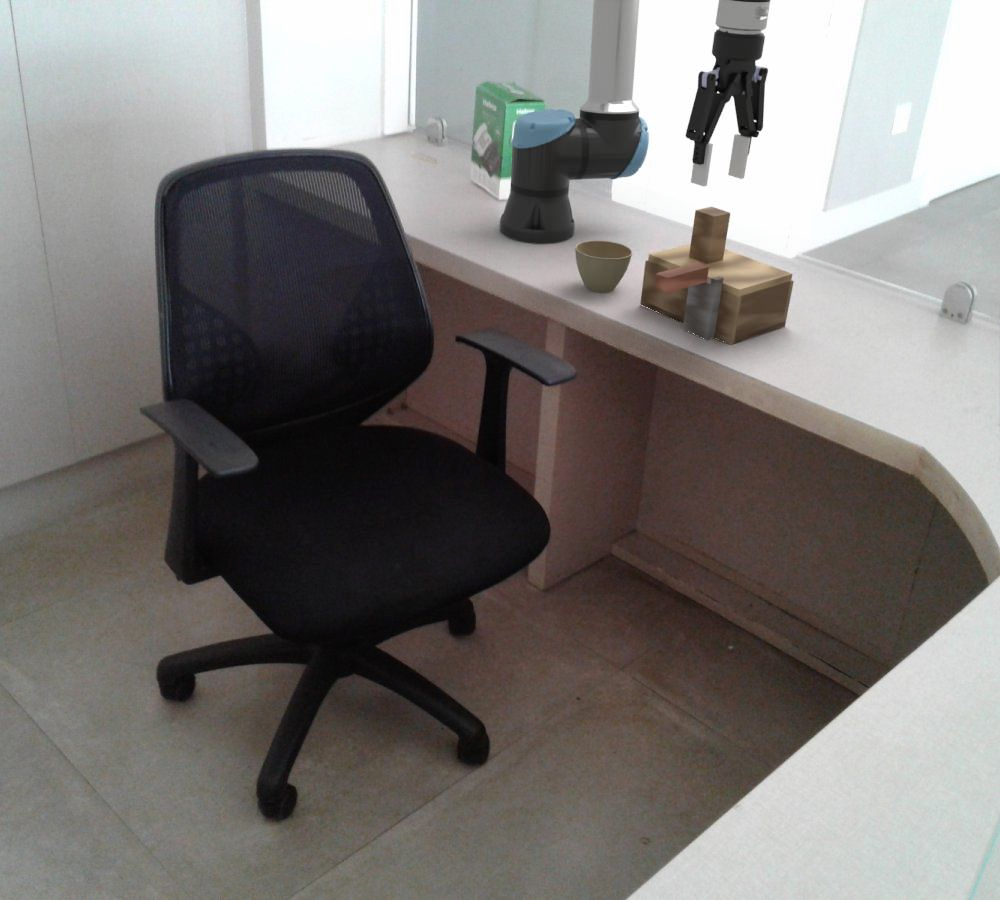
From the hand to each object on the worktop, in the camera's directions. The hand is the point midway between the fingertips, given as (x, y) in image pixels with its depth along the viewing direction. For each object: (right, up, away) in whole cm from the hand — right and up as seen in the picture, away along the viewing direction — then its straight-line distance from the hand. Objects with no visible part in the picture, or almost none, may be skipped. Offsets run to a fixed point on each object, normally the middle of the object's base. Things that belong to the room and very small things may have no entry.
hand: (717, 180), depth 168 cm
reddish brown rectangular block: (-7, -18, -6) cm, 20 cm away
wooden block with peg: (+1, -14, +5) cm, 15 cm away
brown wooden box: (+1, -21, +9) cm, 23 cm away
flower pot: (-17, -15, +18) cm, 29 cm away
